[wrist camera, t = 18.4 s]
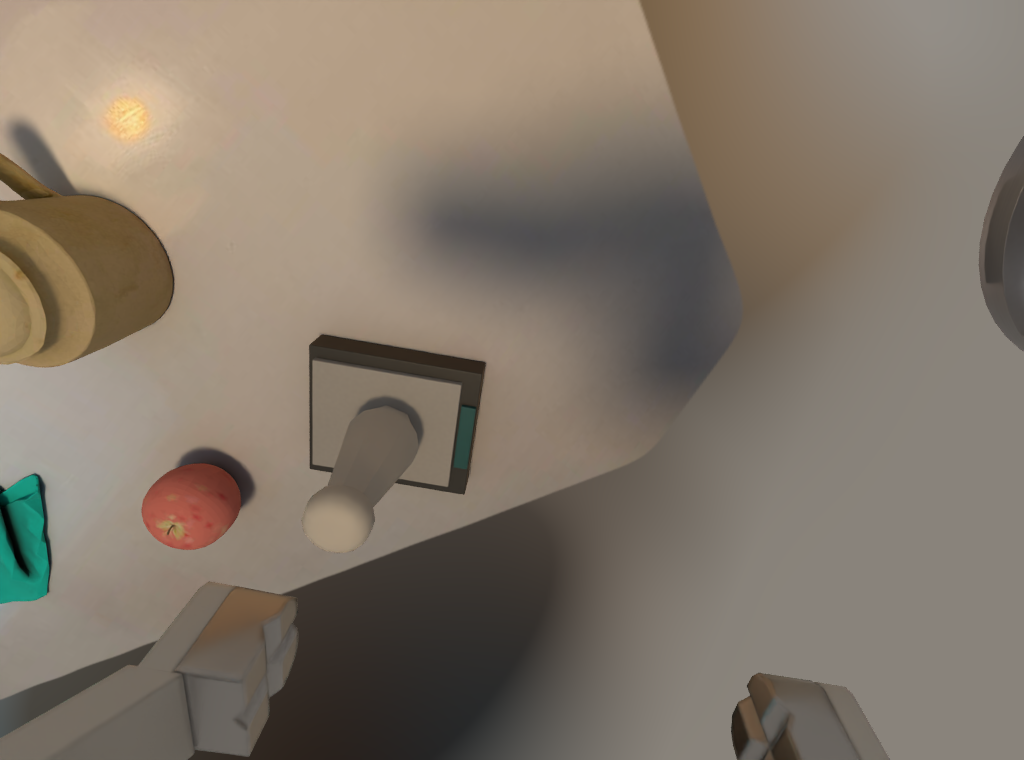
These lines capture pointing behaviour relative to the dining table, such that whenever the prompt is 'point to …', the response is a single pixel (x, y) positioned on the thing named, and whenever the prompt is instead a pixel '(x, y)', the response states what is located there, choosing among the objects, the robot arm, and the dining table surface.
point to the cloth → (22, 543)
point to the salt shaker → (360, 479)
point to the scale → (396, 405)
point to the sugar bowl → (73, 273)
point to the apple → (191, 506)
